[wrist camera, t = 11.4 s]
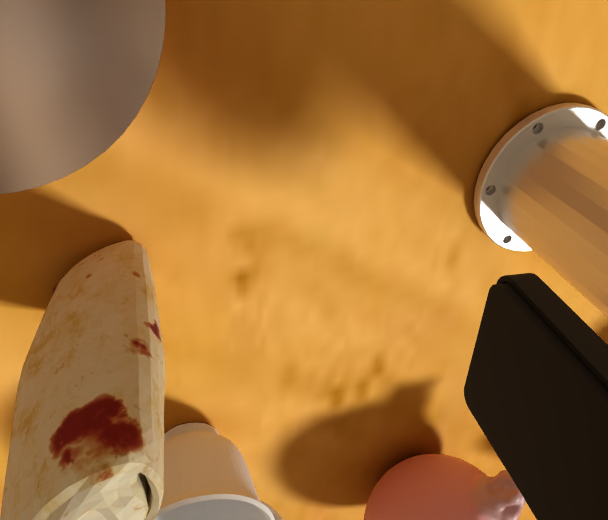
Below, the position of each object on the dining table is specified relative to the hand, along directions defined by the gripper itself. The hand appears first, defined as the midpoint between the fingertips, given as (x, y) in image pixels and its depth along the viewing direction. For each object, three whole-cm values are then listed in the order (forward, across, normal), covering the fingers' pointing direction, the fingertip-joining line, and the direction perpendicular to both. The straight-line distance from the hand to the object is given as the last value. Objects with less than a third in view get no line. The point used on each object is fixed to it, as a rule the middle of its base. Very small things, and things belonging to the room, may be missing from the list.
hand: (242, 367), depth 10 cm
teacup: (+28, +1, +36) cm, 46 cm away
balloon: (+30, -23, +45) cm, 59 cm away
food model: (+28, +7, +16) cm, 33 cm away
